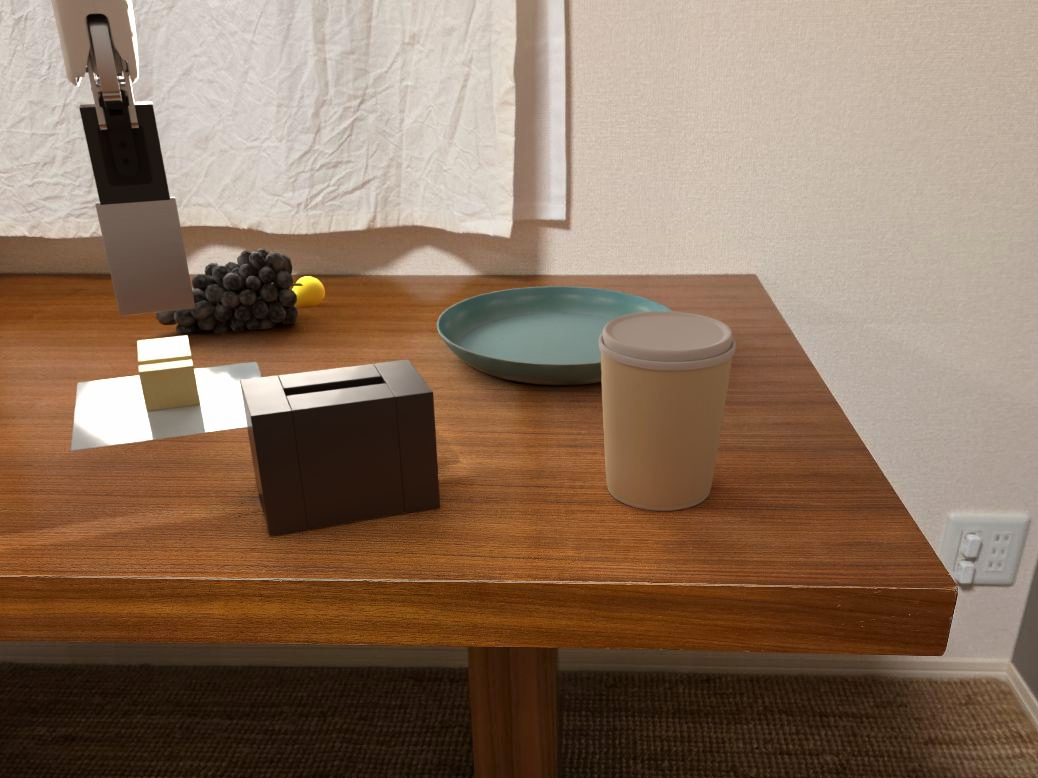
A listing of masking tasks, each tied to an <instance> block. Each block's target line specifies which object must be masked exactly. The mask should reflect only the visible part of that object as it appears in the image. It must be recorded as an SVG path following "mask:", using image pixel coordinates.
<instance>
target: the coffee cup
mask: <svg viewBox="0 0 1038 778" xmlns="http://www.w3.org/2000/svg"><path fill="white" fill-rule="evenodd" d="M733 335H734V334H733V331H732V330H731V328H730V327H729V326H728V325H727V324H726V323H724V322H722V321H720V320H718V319H717V318H713V317H710V316H706V315H703V314H697V313H691V312H685V311H673V310H672V311H652V312H640V313H633V314H628V315H624V316H621V317H618V318H615V319H613V320H611V321H610V322H608V323H607V324H606V325H605V327H604V329H603V333H602V334H601V335H600V337H599V349H600V351H601V379H602V382H601V397H602V398H601V403H602V405H601V406H602V422H603V423H602V425H603V426H602V427H603V446H604V447H603V448H604V466H605V482H606V488H607V490H608V492H609V494H610V495H611V496H612V497H613V498H614V499H615V500H617V501H618V502H620V503H622V504H625V505H626V506H629V507H633V508H636V509H640V510H644V511H645V510H646V511H653V512H654V511H656V512H657V511H658V512H670V511H679V510H685V509H689V508H692V507H695V506H697V505H699V504H701V503H703V502H704V501H705V500H706V499H707V498H708V497H709V495H710V494H711V490H712V485H713V481H714V475H715V469H716V463H717V458H718V457H717V456H718V451H719V446H720V440H721V439H720V438H721V433H722V426H723V421H724V420H723V419H724V415H725V409H726V402H727V394H728V390H729V389H728V388H729V383H730V378H731V369H732V363H733V356H734V355H735V353H736V349H737V348H736V347H737V343H736V339H735V337H734V336H733Z"/></svg>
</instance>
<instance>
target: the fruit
mask: <svg viewBox="0 0 1038 778" xmlns="http://www.w3.org/2000/svg"><path fill="white" fill-rule="evenodd" d="M292 273H293V263H292V259H291V257H289V256H288V255H286V254H285V253H280V252H277V251H271V252H270V251H269V250H268V249H266V248H262V247H260V248H258V249H256V250H255V251H251V250H250V249H245V250H243V251H241V253H240V254H239V255H238V257H237V258H236V262H234V261H228V262H227V263H226V264H225V265H221V264H218V263H217V262H210V263H208V264H207V265H206V266H205V267H204V273H197V274H195V275H193V276H192V279H191V286H192V292H193V298H194V303H195V308H191V309H182V310H172V311H163V312H155V318H156V320H157V321H158V323H159V324H160V325H163V326H175V325H176V328H175V330H176V333H177V334H178V335H179V336H185V335H193V334H195V333H196V331H206V332H208V331H209V332H210V331H212V332H213V333H214V334H215V333H216V334H222V333H228V332H229V331H230V329H231V330H232V331H233V332H236V333H239V332H243V331H244V330H245V329H248V330H250V331H256V330H268V329H272V328H274V327H275V326H276V324H279V323H282V324H283V325H284V326H291V325H293V324H296V322H297V321H298V314H299V312H298V308H296V306H295V303H296V302H297V295H296V294H295V292H294V291H293V290H292V289H291V287H294V286H303V285H302V284H301V283H297V282H294V279H293V275H292Z"/></svg>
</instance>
